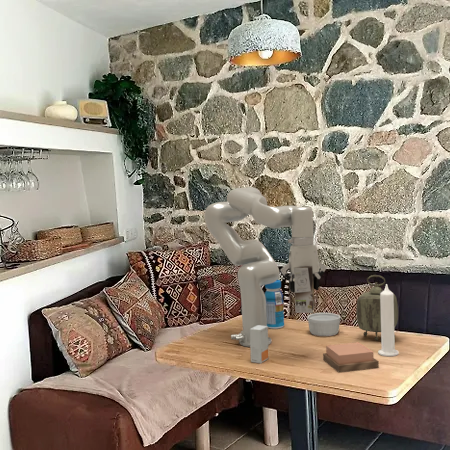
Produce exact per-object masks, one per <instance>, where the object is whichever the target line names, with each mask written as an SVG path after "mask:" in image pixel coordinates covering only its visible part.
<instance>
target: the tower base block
mask: <svg viewBox="0 0 450 450" xmlns="http://www.w3.org/2000/svg"><path fill="white" fill-rule="evenodd" d="M322 357H323V358H322V359H323V362H325V363H326V364H328V366H330V367H331V369H332V368H333V369H334V370H335V371H336V372H337V373H347V372H348V373H349V372H355V371H356V372H358V371H364V370H372V369H380V366H379V365H380V364H379V360H378V359H376V358H374V361H366V362H357V363H348V364H338V363H337V362H336V361H335V360H333V359H332V358H331V357H330V356H328V355H327V354H326V352H325V353H323V354H322Z"/></svg>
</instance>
